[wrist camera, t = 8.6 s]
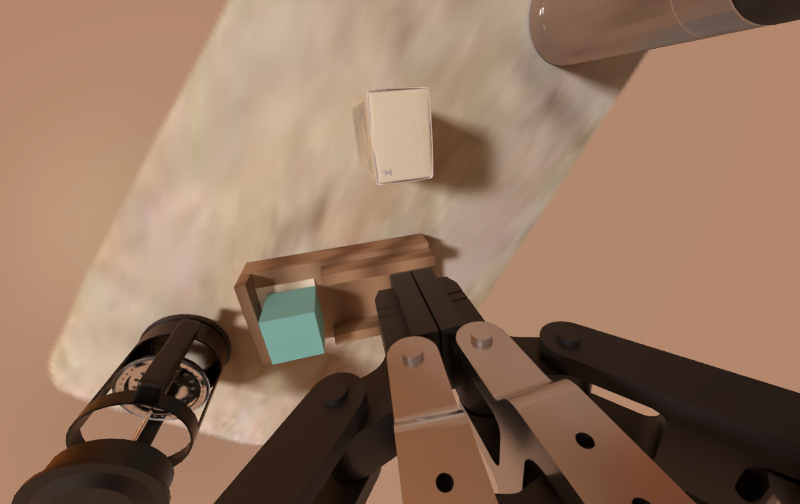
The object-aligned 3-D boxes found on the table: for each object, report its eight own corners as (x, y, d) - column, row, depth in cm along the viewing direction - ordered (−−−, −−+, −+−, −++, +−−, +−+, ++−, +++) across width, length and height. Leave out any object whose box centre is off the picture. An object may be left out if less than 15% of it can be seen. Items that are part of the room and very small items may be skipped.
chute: (420, 233, 38) (435, 251, 33) (425, 302, 42) (438, 327, 37) (246, 262, 35) (233, 287, 30) (270, 334, 39) (262, 366, 34)
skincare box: (399, 160, 34) (435, 183, 23) (359, 165, 33) (376, 191, 22) (394, 94, 31) (432, 84, 20) (350, 98, 31) (365, 89, 20)
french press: (217, 388, 40) (107, 674, 20) (131, 374, 37) (-111, 701, 16) (245, 314, 37) (149, 563, 17) (154, 291, 34) (-111, 569, 13)
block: (315, 285, 34) (314, 312, 29) (324, 323, 36) (324, 353, 31) (267, 294, 33) (258, 323, 28) (279, 332, 35) (272, 364, 31)
